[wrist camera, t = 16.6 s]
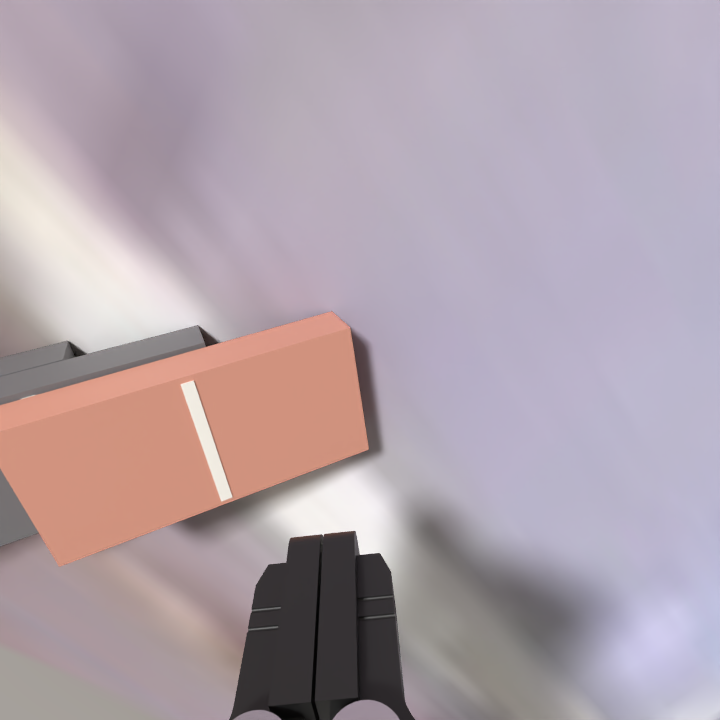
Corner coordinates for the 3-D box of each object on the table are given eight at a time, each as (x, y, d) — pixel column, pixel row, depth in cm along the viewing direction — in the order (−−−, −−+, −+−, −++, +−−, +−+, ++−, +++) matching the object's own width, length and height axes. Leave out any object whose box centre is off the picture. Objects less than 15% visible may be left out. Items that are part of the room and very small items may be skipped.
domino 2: (350, 425, 21) (64, 528, 18) (331, 310, 18) (-5, 405, 15) (369, 450, 19) (59, 568, 16) (350, 328, 17) (-20, 438, 14)
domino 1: (231, 437, 21) (-77, 540, 18) (197, 324, 19) (-166, 419, 15) (240, 463, 19) (-96, 581, 16) (204, 342, 17) (-199, 452, 14)
